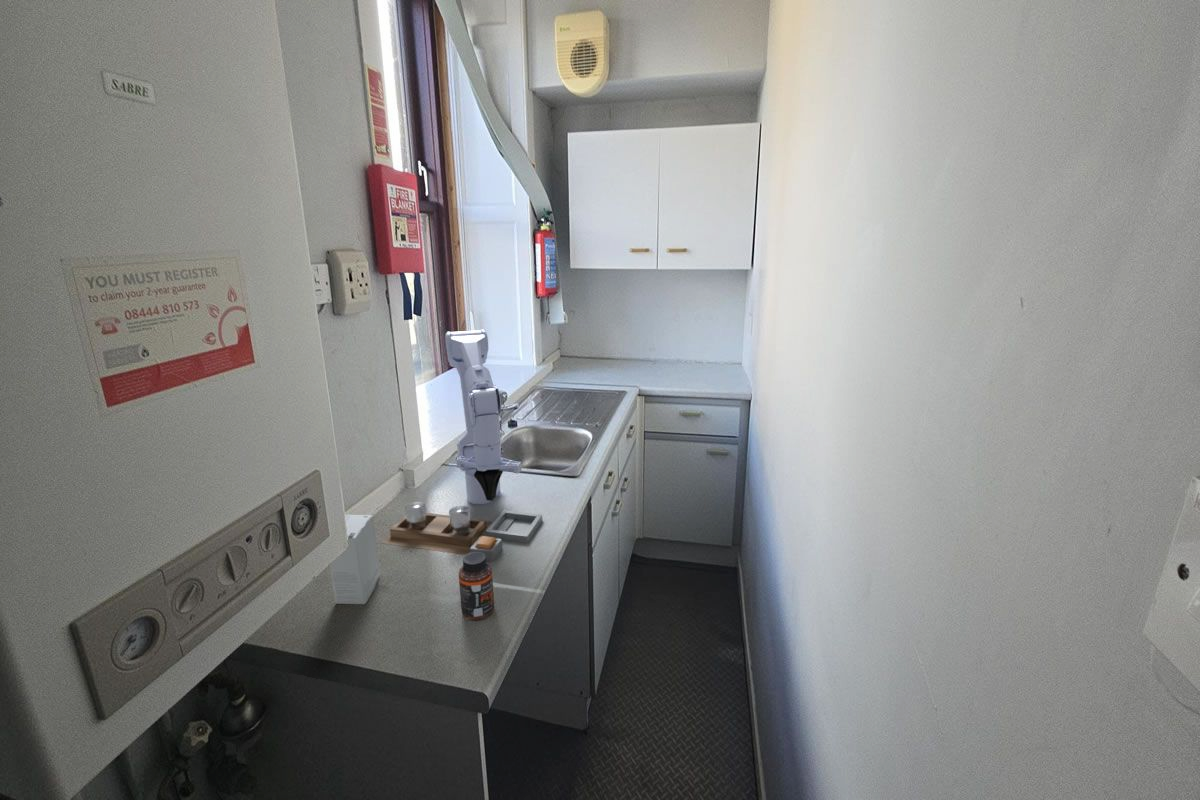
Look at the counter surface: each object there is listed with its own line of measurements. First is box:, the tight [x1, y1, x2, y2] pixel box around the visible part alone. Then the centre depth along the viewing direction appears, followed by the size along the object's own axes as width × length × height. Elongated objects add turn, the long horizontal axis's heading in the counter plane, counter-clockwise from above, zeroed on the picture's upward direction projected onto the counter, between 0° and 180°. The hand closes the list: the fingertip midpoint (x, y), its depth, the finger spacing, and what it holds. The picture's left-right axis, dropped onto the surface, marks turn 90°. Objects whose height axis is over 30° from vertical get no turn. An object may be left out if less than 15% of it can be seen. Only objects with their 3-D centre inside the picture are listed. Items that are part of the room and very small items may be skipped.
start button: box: [476, 535, 496, 549], centre depth 117 cm, size 3×3×3 cm
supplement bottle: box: [458, 552, 495, 621], centre depth 99 cm, size 6×6×11 cm
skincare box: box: [328, 514, 381, 605], centre depth 104 cm, size 8×6×15 cm
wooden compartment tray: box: [380, 512, 494, 556], centre depth 125 cm, size 14×21×3 cm, turn 77°
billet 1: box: [404, 501, 427, 530], centre depth 126 cm, size 4×4×6 cm
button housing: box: [470, 536, 503, 563], centre depth 118 cm, size 5×5×3 cm
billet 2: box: [448, 505, 471, 536], centre depth 123 cm, size 4×4×6 cm
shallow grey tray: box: [485, 509, 543, 544], centre depth 128 cm, size 10×10×2 cm
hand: (491, 498), depth 123 cm, fingers closed
